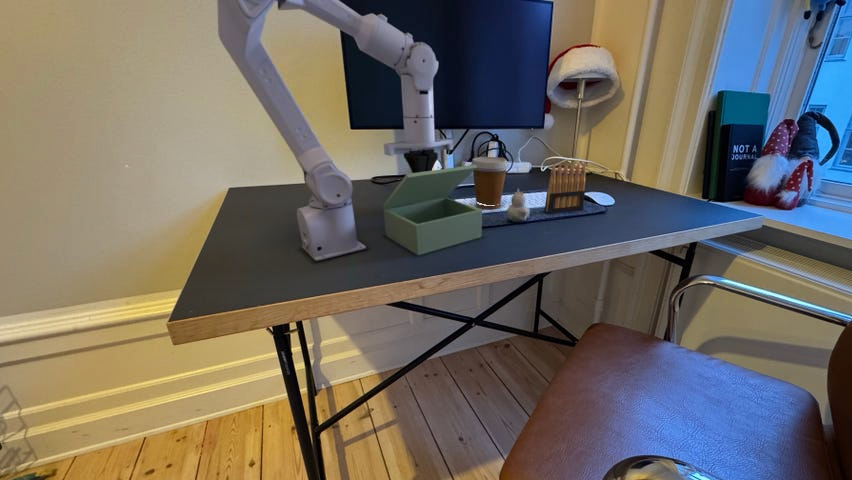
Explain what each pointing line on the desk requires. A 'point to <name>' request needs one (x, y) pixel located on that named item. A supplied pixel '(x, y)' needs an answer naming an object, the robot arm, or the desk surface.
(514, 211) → the grey gourd
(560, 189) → the ammunition clip
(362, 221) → the desk surface
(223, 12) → the robot arm
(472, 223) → the box
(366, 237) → the desk surface
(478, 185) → the disposable coffee cup
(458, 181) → the box lid
